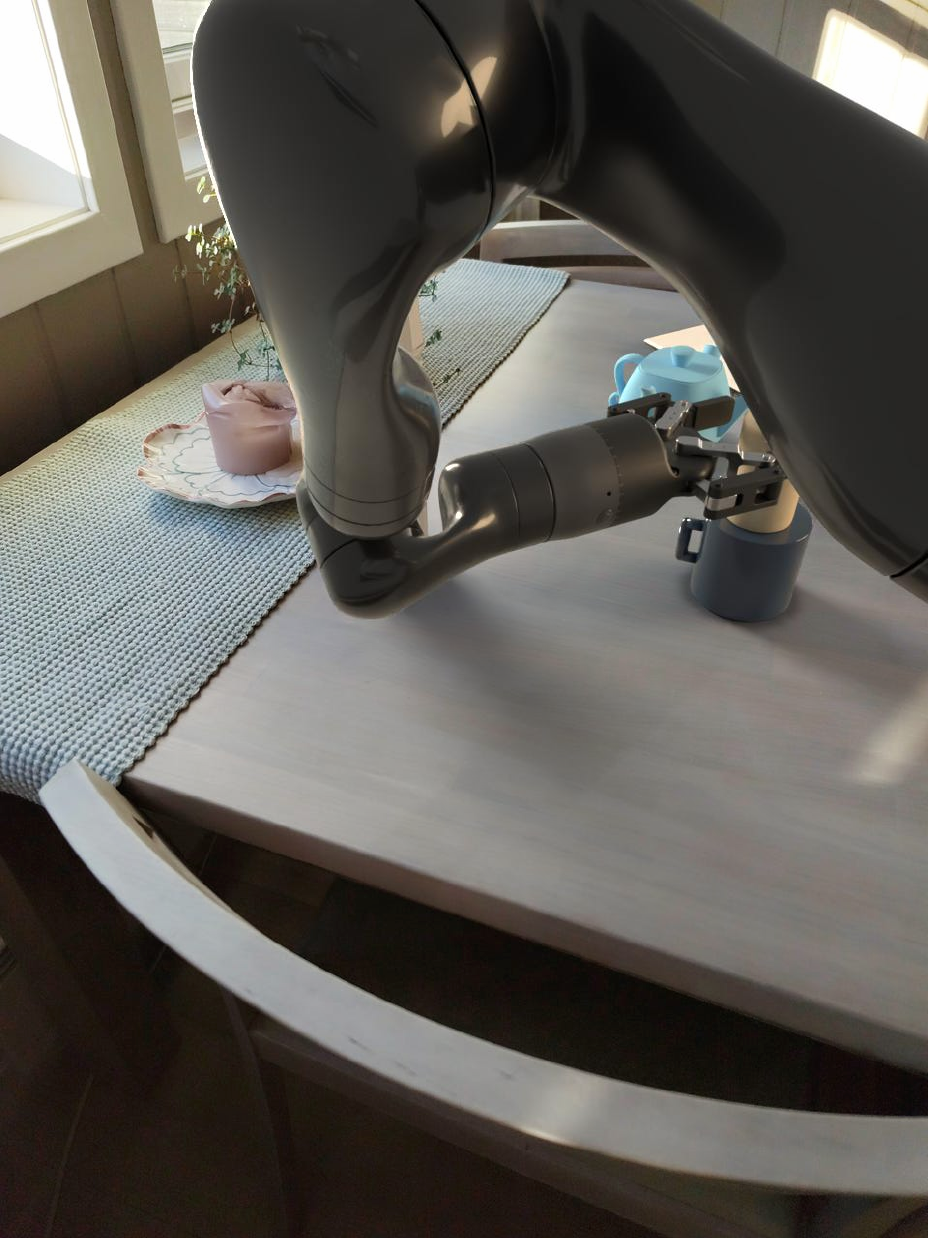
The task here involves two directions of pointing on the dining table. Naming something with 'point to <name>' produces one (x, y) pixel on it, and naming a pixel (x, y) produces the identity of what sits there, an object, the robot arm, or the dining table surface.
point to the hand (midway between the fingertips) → (766, 431)
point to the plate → (690, 345)
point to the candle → (766, 517)
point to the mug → (744, 565)
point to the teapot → (678, 380)
